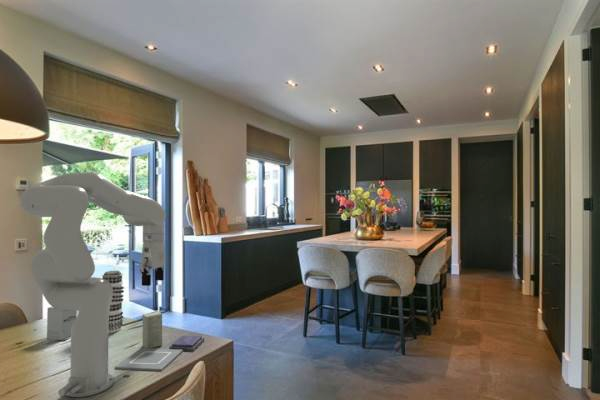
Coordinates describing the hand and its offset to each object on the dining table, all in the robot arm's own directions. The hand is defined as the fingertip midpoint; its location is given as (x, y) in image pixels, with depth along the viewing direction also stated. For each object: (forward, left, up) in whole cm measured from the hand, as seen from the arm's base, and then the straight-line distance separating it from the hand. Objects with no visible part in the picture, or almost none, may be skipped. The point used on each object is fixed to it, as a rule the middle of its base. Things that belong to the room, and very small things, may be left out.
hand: (153, 282), depth 137 cm
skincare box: (0, 0, -24) cm, 24 cm away
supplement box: (+6, +42, -24) cm, 49 cm away
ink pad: (+2, -13, -24) cm, 27 cm away
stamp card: (-12, -6, -24) cm, 27 cm away
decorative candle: (+16, +27, -24) cm, 39 cm away
